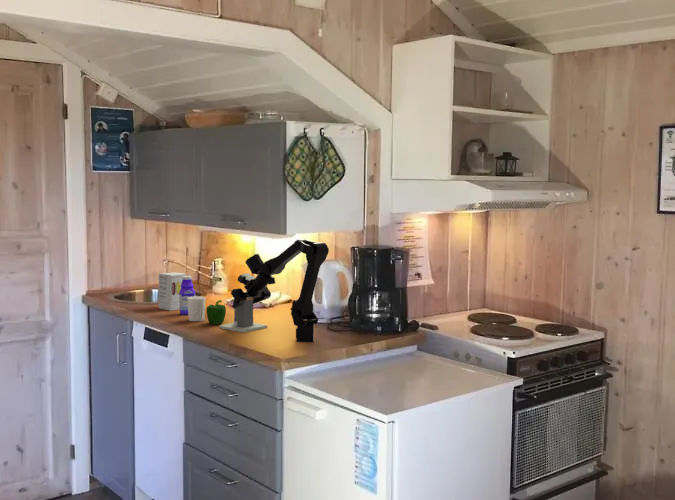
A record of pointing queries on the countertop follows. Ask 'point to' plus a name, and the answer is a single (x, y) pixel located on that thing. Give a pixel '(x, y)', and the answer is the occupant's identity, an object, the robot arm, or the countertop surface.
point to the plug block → (244, 313)
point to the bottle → (185, 294)
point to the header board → (237, 328)
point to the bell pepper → (216, 313)
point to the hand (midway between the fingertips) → (241, 306)
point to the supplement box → (169, 290)
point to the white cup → (196, 308)
